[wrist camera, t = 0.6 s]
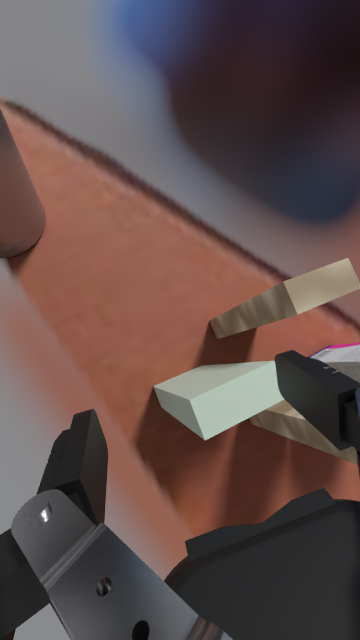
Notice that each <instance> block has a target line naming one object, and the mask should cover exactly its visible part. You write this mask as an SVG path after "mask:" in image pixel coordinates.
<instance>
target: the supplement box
mask: <svg viewBox="0 0 360 640" xmlns="http://www.w3.org/2000/svg"><path fill="white" fill-rule="evenodd" d="M309 358H313V359H317V360H320V361H322V362H324V363H326V364H327V365H329V366H330V367H333V368H334V369H336V370H337V371H340V372H341V373H343V374H345V375H347V376H348V377H350V378H352V379H354V380H355V381H357V382H359V383H360V343H352V344H342V345H331V346H328V347H326V348H324V349H323V350H321V351H319V352H317V353H315V354H313V355H312V356H310V357H309Z"/></svg>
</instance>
